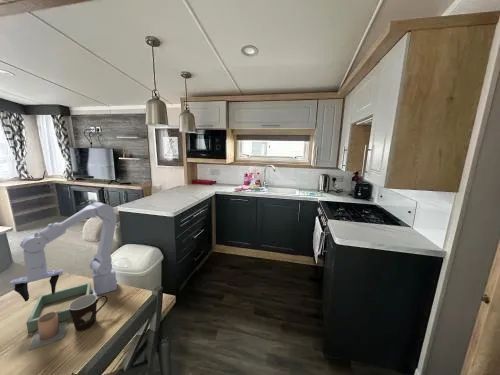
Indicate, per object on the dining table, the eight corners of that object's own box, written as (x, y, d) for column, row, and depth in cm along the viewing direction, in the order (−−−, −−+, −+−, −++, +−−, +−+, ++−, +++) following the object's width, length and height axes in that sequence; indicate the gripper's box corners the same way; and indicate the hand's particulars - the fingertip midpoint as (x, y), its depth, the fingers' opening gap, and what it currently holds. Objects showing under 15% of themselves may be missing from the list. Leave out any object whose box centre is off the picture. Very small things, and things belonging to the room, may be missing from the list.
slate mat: (67, 321, 82) (67, 320, 82) (63, 337, 74) (63, 337, 74) (36, 331, 77) (36, 331, 77) (28, 350, 69) (28, 350, 69)
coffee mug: (68, 337, 75) (65, 313, 73) (75, 320, 82) (72, 298, 81) (106, 325, 80) (104, 302, 79) (109, 311, 88) (107, 290, 86)
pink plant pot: (57, 325, 79) (55, 309, 78) (60, 333, 76) (58, 316, 75) (38, 334, 75) (36, 317, 74) (40, 342, 72) (38, 325, 71)
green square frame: (91, 289, 101) (90, 282, 101) (88, 312, 87) (87, 303, 86) (40, 303, 91) (39, 295, 90) (27, 332, 76) (26, 322, 76)
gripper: (62, 256, 88) (66, 285, 90) (12, 266, 80) (18, 297, 82) (59, 263, 82) (63, 293, 84) (5, 274, 74) (11, 308, 76)
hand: (40, 296), depth 82 cm, fingers open, 7 cm apart
